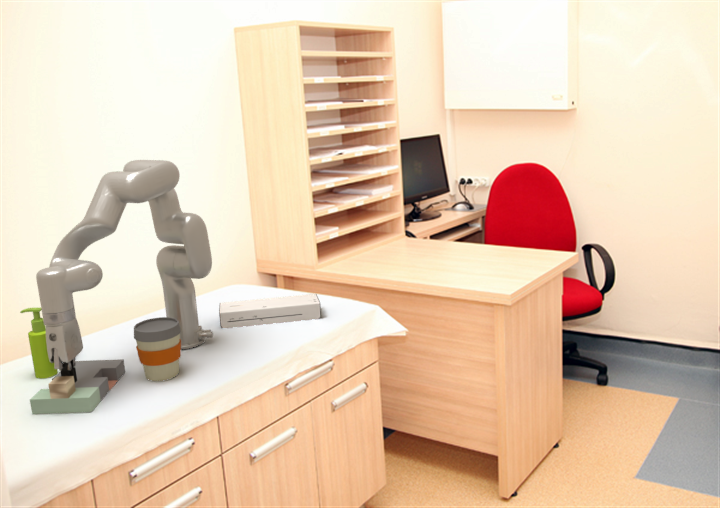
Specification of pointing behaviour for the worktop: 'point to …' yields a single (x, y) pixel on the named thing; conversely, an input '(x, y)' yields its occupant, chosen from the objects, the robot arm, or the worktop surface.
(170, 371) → the reusable coffee cup
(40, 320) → the soap dispenser
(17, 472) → the worktop surface
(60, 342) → the robot arm
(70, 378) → the maple block
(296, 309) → the laminator
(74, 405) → the board
